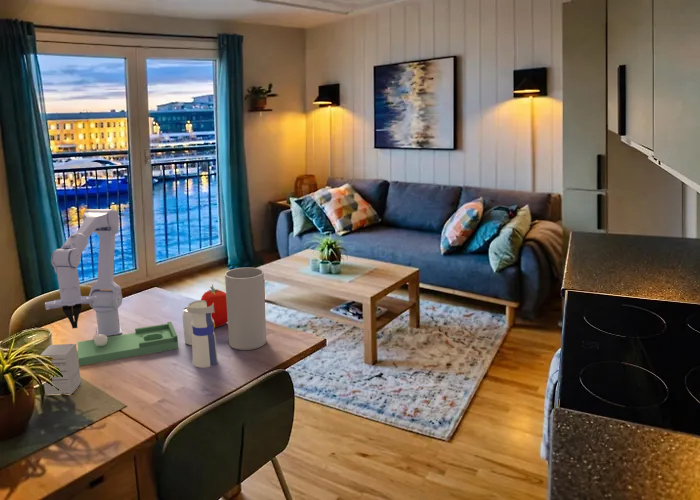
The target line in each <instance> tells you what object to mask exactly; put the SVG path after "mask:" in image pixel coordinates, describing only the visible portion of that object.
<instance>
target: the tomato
mask: <svg viewBox="0 0 700 500" xmlns="http://www.w3.org/2000/svg"><path fill="white" fill-rule="evenodd" d="M200 300H204V301H206V303H207V307H209V306H211V305H212V304H213V303H214V312H215V313H214V312H213V313H212V314H211V315H212V319H213V320H214V323H215V328H218V327H221V326H224V325H226V324H228V318H227V301H226V291H223V290H220V289H217V288H215V295H214V293H212V290H211V289H208V290H207V291H205V292H204V293H203V294H202V296H201V297H200Z"/></svg>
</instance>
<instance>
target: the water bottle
mask: <svg viewBox="0 0 700 500" xmlns="http://www.w3.org/2000/svg"><path fill="white" fill-rule="evenodd" d="M209 287H210V290H212V293H214V295H215V290H216V288H214V285H213V283H212V284H211V286H209ZM186 307H187V311H188V312H190V313H192V316H193V319H192V322H191V325H192V327H193V334H192V345H191V346H192V347H191V348H192V366H194V367H197V368H202V369H203V368H210V367H213V366H215V365H216V364H217V363H218V362H219V360H218V359H219V358H218V352H217V351H218V350H217V339H216V333H215V328H216V327H215V323H214V320H213V319H212V315H211V314H212V313H213V312H214V303H213V304H212V305H211V306H209V307H207V303H206V301H204V300H201V299H199V300H194V301H192V302H190V303H188V305H187V306H186ZM214 313H215V312H214Z"/></svg>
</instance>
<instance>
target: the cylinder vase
mask: <svg viewBox="0 0 700 500" xmlns="http://www.w3.org/2000/svg"><path fill="white" fill-rule="evenodd" d="M224 283H225V293H226V301H227V318H228V322H227V329H228V344H229V346H230V348H232V349H235V350H238V351H250V350H251V351H252V350H257V349H259V348H261V347H264V345H265V344H266V343H267V323H266V322H267V321H266V320H267V319H266V299H265V298H266V297H265V279H264V270H263V269H261V268H257V267H238V268H237V267H236V268H232V269H229V270H227V271H226V272H224Z"/></svg>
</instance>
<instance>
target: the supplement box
mask: <svg viewBox="0 0 700 500" xmlns="http://www.w3.org/2000/svg"><path fill="white" fill-rule="evenodd" d="M40 355H44V356H50V357H54V359H53V360H52V361H51V362H52V364H53V365H54V366H56V367H58V368H59V370H60V371H61V373H62V375H63V377H56V376H54V377H52V383H53V384H54V385H55V386H56V387H57V388H58V389H59V391H58V390H57V389H56V388H55V387H54V386H51V385H50V384H48V383H44V382H43V387H44V393H45V395H46V394H72V393H73V392H74V391H75V390H76V389H77V390H78V388H79V387H80V386H79V384H80V383H81V384H82V377H81V371H80V370H81V369H80V366H79V362H78V348H77V344H76V343H64V344H63V343H62V344H61V343H60V344H50V346H49V345H48V347H46V349H44V350H43V351H42V352H41V354H40ZM81 384H80V385H81ZM78 386H79V387H78ZM77 387H78V388H77ZM77 390H76V391H77ZM76 391H75V392H76ZM75 392H74V393H75Z"/></svg>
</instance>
